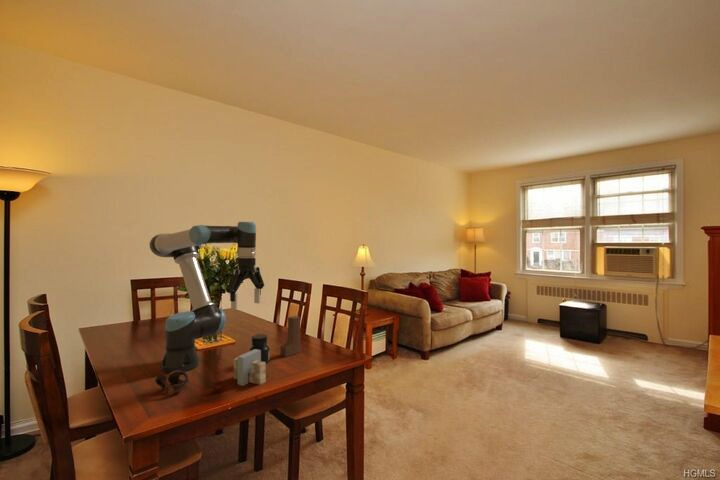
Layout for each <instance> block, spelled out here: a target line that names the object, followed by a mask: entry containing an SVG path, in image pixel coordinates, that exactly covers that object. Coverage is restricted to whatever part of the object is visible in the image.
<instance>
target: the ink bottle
mask: <svg viewBox="0 0 720 480" xmlns="http://www.w3.org/2000/svg"><path fill="white" fill-rule="evenodd" d="M254 349H257V350H261V361H262V362H266V364H268V363H270V346H268V335H267V334H264V333H263V334H260V333H259V334H254V335H252V336H251V347H250V348H249V351H248V352H250V351H252V350H254Z"/></svg>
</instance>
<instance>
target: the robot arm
mask: <svg viewBox="0 0 720 480" xmlns="http://www.w3.org/2000/svg"><path fill="white" fill-rule="evenodd" d="M256 227H257V226H256V223H255V222H254V221H238V222H237V226H235V225H233V226H231V225H203V224H200V225H199V224H198V225H193V226H192V227H191V228H189V229H185V230H182V231H178V232H174V233H159V234H156V235H154V236H153V237H151V239H150V242H149V249H150V251H151V252H152V253H153V255H155V256H157V257H161V258H173V261H174V263H175V264H178V265H179V269H180V271H181V275H182V277H183V281H184V285H185V288H186V291H187V294H188V297H189V300H190V303H191V306H192V307H191V308H192V309H191V311H180V312H177V313H174V314H171V315H170V316H168V317H167V318H166V319H165V325H164V326H165V327H164V332H165V337H164V338H165V353H164V355H163V357H162V361H161V364H160V370H161V372H163V371H164V373H167V372H169V373H171V372H173V371H184V372H187V370H188V371H190V369H191V370H194V369H195V368H197V367H198V366H199V365H200V357H199V355H198V352H197V349H196V343H195V342H196V340H199V339H201V338H206V337H210V336H214V335H216V334H219V333H221V332H222V331H223V330H224V328H225V326H226V322H227V320H226V319H227V318H226V313H225V311H224V310H223V309H222V308H218V306H217V304H216V303H214V302H213V301H212V300H211V297H210V293H209V289H208V288H207V287H208V286H207V285H206V281H205V278H204V276H203V273H202V272H203V271H202V270H201V267H200V263H199V260H198V259H199V257H200V254H199V252H198V249H201V250H202V245H207V244H237V253H236V254H237V257H238V258H236V259H237V262H236V263H237V267H238V269H235V268H234V269H232V271H231V277H230V280H229V282H228V284H227V287H226V290H225V293H228V294H229V301H230V309H231V310H238V293H237V291H238V289H239V288H240V286H241V285H242V283H243V282H244V281H245V280H247V279H249V280H250V281H251V283H252V284H253V286H254V287H255V288H254V291H253V292H254V294H253V295H254V298H253V300H254V304H261V295H262V293H261V291H262V290H263V289H264V287H265V283H264V279H263V277H262V275H261V270H260V267H259V266H256V262H257V261H256V248H257V247H256V246H257V242H256V240H257V236H256V235H257V228H256ZM197 258H198V259H197ZM169 373H168V374H169Z"/></svg>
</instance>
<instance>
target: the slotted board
mask: <svg viewBox="0 0 720 480" xmlns="http://www.w3.org/2000/svg"><path fill="white" fill-rule="evenodd" d="M266 365H267V363H266V362H262V361H257V360H256V361H254V362H252V363H251V372H250V373H248V383H250V384H251V383H252V384H254V385H260V386H261V385H263V384H265V383H266V381H267V380H266V377H267V376H266V371H267V370H266V367H267V366H266ZM233 379H235V380H238V356H236V358H234V359H233Z"/></svg>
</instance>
